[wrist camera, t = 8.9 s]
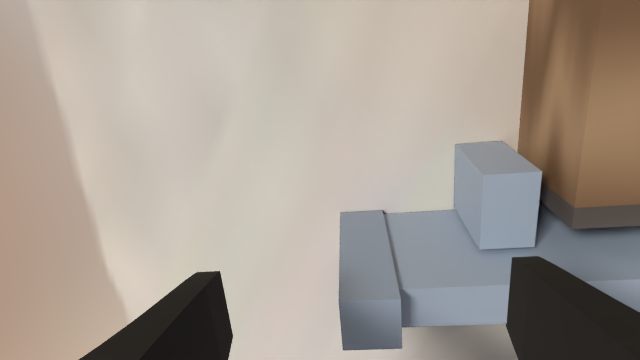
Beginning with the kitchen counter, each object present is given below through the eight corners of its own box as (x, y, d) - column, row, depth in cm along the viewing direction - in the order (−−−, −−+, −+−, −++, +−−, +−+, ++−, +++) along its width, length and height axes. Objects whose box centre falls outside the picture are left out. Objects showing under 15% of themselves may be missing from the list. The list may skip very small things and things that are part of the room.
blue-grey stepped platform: (772, 227, 19) (986, 330, 13) (343, 249, 21) (342, 350, 14) (807, 119, 17) (1075, 176, 11) (335, 152, 19) (331, 218, 13)
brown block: (596, 173, 19) (680, 223, 14) (515, 178, 19) (571, 229, 14) (649, -182, 14) (798, -280, 10) (542, -168, 15) (636, -258, 10)
